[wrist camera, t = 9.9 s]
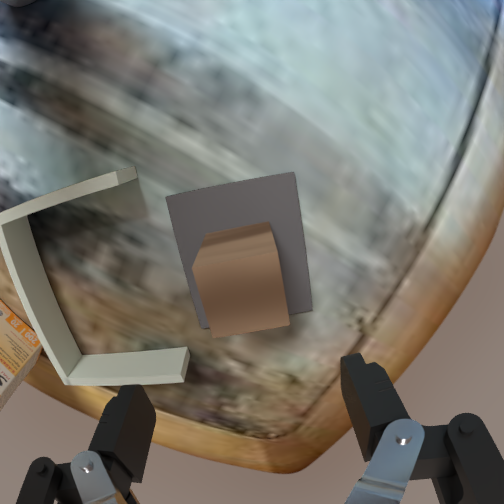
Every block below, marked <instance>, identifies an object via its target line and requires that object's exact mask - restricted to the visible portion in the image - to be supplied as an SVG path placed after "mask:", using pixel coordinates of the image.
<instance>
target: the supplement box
mask: <svg viewBox="0 0 504 504" xmlns="http://www.w3.org/2000/svg"><path fill="white" fill-rule="evenodd" d="M42 348H43V346H42V344H41V342H40V340H39V338H38V336H37V334H36V332H35V331H33V330H32V329H31V328H30V327H29V326H27V325H26V324H25V323H24V322H23V321H22V320H21V319H20V318H19V317H17V316H16V315H15V314H14V313H13V312H12V311H11V310H10V309H9V308H8V307H7V306H6V305H5V304H4V303H3V302H2V300H1V299H0V411H1V409H2V408H3V407H4V405H5V404H6V402H7V401H8V400H9V398H10V397H11V395H12V394H13V393H14V391H15V390H16V389H17V387H18V386H19V385H20V384H21V382H22V381H23V380H24V378H25V377H26V376H27V374H28V373H29V372H30V370H31V369H32V368H33V366H34V365H35V364H36V362H37V361H38V358H39V356H40V353H41V350H42Z"/></svg>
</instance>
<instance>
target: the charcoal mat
mask: <svg viewBox="0 0 504 504" xmlns="http://www.w3.org/2000/svg"><path fill="white" fill-rule="evenodd" d="M166 201H167V205H168V210H169V214H170V218H171V222H172V226H173V230H174V234H175V237H176V241H177V245H178V249H179V253H180V256H181V260H182V264H183V267H184V271H185V274H186V278H187V281H188V285H189V288H190V292H191V295H192V299H193V302H194V305H195V309H196V312H197V315H198V319H199V322H200V325H201V328H210V327H209V324H208V321H207V318H206V314H205V311H204V308H203V304H202V301H201V298H200V294H199V291H198V288H197V284H196V281H195V277H194V274H193V270H192V266H193V264H194V261H195V259H196V257H197V254H198V252H199V249H200V247H201V244H202V242H203V240H204V237H205V235H206V234H207V233H212V232H217V231H222V230H227V229H232V228H237V227H242V226H247V225H252V224H257V223H262V222H268V221H269V224H270V227H271V230H272V234H273V237H274V241H275V244H276V248H277V251H278V257H279V262H280V268H281V274H282V280H283V285H284V291H285V297H286V303H287V309H288V315H290V314H295V313H300V312H306V311H311V310H312V301H311V292H310V283H309V275H308V267H307V259H306V251H305V244H304V236H303V229H302V222H301V215H300V208H299V201H298V195H297V188H296V182H295V176H294V172H290V173H284V174H278V175H272V176H266V177H260V178H255V179H249V180H244V181H238V182H233V183H228V184H223V185H218V186H213V187H208V188H203V189H198V190H194V191H189V192H185V193H180V194H176V195H171V196H167V197H166Z"/></svg>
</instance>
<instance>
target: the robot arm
mask: <svg viewBox="0 0 504 504" xmlns="http://www.w3.org/2000/svg"><path fill="white" fill-rule="evenodd" d="M0 1H1V2H3V3H6V4H8V5H10V6H14V7H22V6H25V5H28V4H30V3H32V2H34V1H36V0H0ZM341 390H342V395H343V398H344V401H345V404H346V407H347V410H348V413H349V416H350V419H351V422H352V425H353V428H354V431H355V434H356V437H357V440H358V443H359V446H360V449H361V452H362V455H363V458H364V461H365V462H367V461H370V463H369V465H368V467H367V469H366V471H365V472H364V475H363V476H362V478H361V479H359V480H358V481H357V483H356V484H355V486H354V488H353V490H352V491H351V493H350V495H349V497H348V498H347V500H346V502H345V504H400V501H401V499H402V497H403V495H404V492H405V488H406V486H407V483H408V481H409V480H418V479H429V478H431V479H432V482H433V485H434V488H435V491H436V494H437V497H438V500H439V503H440V504H504V460H503V458H502V456H501V454H500V452H499V450H498V448H497V447H496V445H495V443H494V441H493V439H492V437H491V435H490V433H489V432H488V430H487V428H486V426H485V424H484V423H483V421H482V420H481V419H480V418H479V417H478V416H477V415H474V414H471V413H462V414H459V415H457V416H455V417H454V418H453V419H452V420H451V421H450V423H449V424H448V425H439V426H423V425H420V424H419V423H418V422H416V421H414V420H412V419H411V418H410V417H409V415H408V413H407V411H406V409H405V407H404V405H403V403H402V401H401V399H400V397H399V396H398V394H397V392H396V390H395V389H394V386H393V384H392V382H391V380H390V379H389V377H388V375H387V373H386V371H385V369H384V368H382V367H381V366H380V365H378V364H377V363H376V362H373V363H369V364H366V363H365V361H364V359H363V357H362V355H361V354H360V353H355V354H351V355H347V356H343V357H341ZM155 423H156V413H155V409H154V407H153V405H152V403H151V402H150V400H149V398H148V396H147V394H146V392H145V391H144V389H143V387H142V386H141V385H140V384H129V385H122V386H121V388H120V390H119V393H118V395H117V397H113V398H112V399H111V400H110V401H109V402H108V403H107V404H106V406H105V409H104V411H103V413H102V416H101V418H100V421H99V424H98V426H97V428H96V431H95V433H94V436H93V438H92V441H91V443H90V446H89V449H88V451H84V452H81V453H79V454H77V455H76V456H75V457H74V459H73V460H72V462H70V463H64V464H55V463H54V462H53V461H52V460H51V459H50V458H48V457H40V458H38V459H36V460H34V461H33V462H32V464H31V465H30V467H29V470H28V472H27V475H26V477H25V480H24V483H23V485H22V488H21V491H20V494H19V496H18V499H17V502H16V504H53V503H54V500H56V501H58V503H57V504H140V503H139V501H138V500H137V498H136V496H135V495H134V493H133V491H132V490H131V489H130V486H131V482H136V483H142V478H143V474H144V469H145V465H146V460H147V456H148V452H149V448H150V443H151V439H152V435H153V431H154V427H155Z"/></svg>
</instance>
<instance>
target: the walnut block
mask: <svg viewBox="0 0 504 504" xmlns="http://www.w3.org/2000/svg"><path fill="white" fill-rule="evenodd" d="M192 270H193V274H194V277H195V281H196V284H197V288H198V291H199V294H200V298H201V301H202V304H203V308H204V311H205V314H206V318H207V321H208V324H209V327H210V330H211V334H212V337H213V338H218V337H224V336H231V335H237V334H243V333H249V332H255V331H261V330H266V329H272V328H277V327H283V326H288V325H290V321H289V315H288V309H287V303H286V297H285V291H284V285H283V280H282V274H281V268H280V262H279V257H278V251H277V248H276V244H275V241H274V237H273V234H272V230H271V227H270V224H269V221H268V222H262V223H257V224H252V225H247V226H242V227H237V228H232V229H227V230H222V231H217V232H212V233H207V234H206V235H205V237H204V240H203V242H202V244H201V247H200V249H199V252H198V254H197V257H196V259H195V261H194V264H193V266H192Z"/></svg>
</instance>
